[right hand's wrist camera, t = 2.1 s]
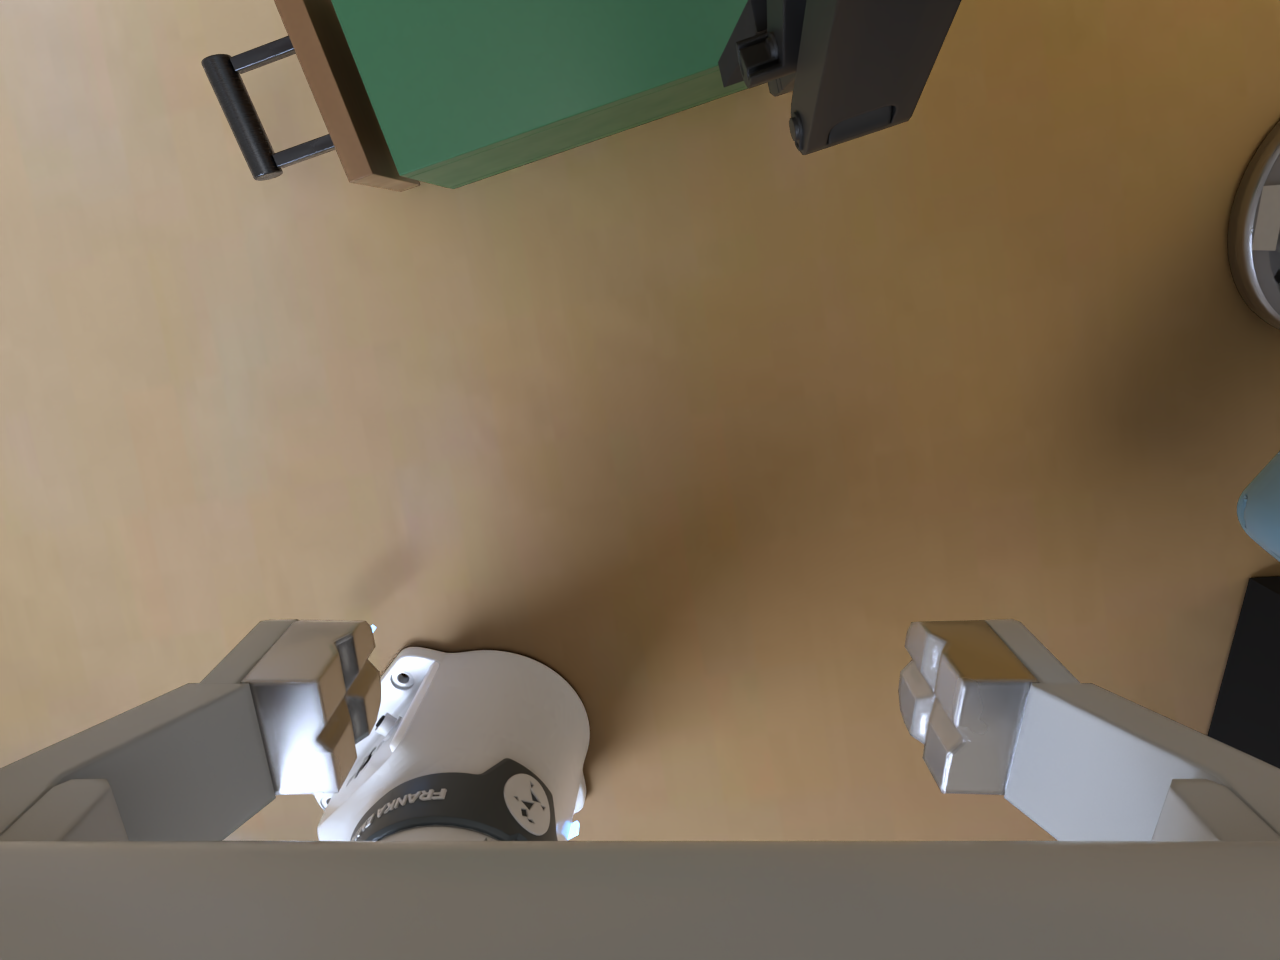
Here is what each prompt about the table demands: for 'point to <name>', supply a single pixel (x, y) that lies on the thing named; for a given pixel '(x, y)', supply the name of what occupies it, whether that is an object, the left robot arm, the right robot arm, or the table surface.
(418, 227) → the table surface
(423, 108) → the cabinet
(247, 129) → the drawer
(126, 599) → the table surface
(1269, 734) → the cardboard box
